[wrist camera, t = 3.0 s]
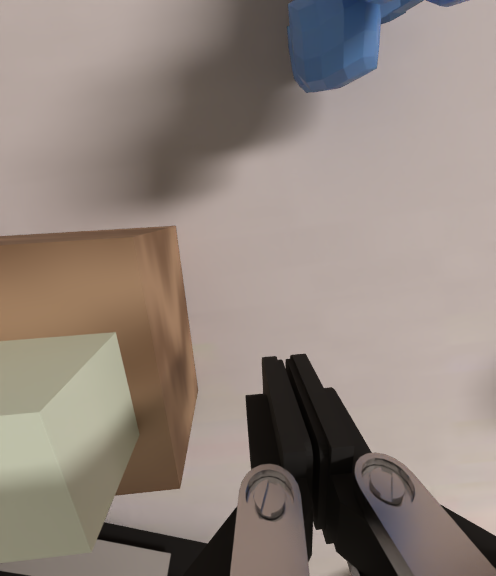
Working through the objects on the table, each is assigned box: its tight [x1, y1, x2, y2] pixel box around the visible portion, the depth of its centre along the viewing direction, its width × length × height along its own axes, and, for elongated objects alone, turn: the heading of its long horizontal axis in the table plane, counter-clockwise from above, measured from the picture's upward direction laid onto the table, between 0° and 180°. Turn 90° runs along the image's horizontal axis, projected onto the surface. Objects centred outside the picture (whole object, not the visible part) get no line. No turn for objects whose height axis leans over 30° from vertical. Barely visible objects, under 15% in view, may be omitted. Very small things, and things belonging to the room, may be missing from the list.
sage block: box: [0, 332, 140, 563], centre depth 8 cm, size 5×5×4 cm
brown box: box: [0, 226, 198, 495], centre depth 13 cm, size 12×14×7 cm
